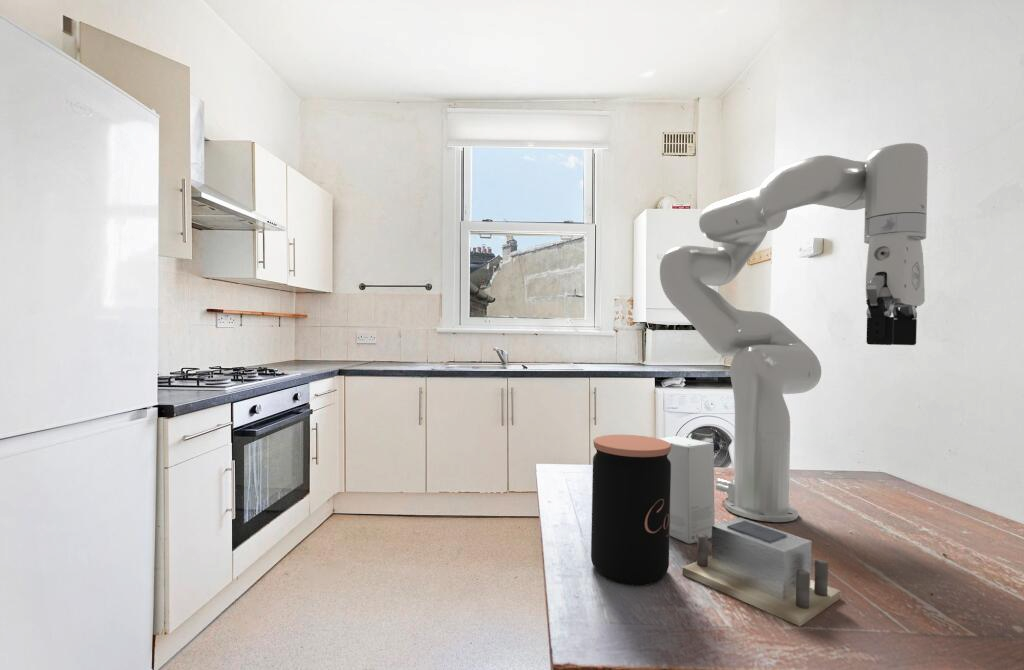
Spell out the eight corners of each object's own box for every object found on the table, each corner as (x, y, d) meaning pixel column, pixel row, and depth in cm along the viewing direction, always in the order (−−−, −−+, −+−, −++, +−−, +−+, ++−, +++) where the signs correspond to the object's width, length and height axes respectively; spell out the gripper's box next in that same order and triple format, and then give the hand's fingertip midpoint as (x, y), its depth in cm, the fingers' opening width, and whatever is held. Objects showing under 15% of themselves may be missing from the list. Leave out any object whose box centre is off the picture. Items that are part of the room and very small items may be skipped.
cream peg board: (682, 574, 72) (683, 538, 72) (726, 555, 79) (726, 522, 79) (800, 626, 60) (801, 582, 60) (840, 598, 66) (841, 559, 66)
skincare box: (715, 538, 85) (717, 443, 85) (686, 546, 82) (689, 447, 82) (676, 521, 93) (678, 434, 92) (648, 528, 89) (650, 437, 89)
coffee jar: (655, 596, 66) (658, 454, 66) (578, 574, 72) (580, 443, 71) (677, 565, 75) (680, 440, 75) (607, 548, 81) (609, 431, 81)
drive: (711, 569, 72) (712, 524, 72) (738, 558, 75) (739, 515, 75) (783, 601, 63) (784, 550, 63) (810, 587, 67) (811, 539, 67)
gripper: (904, 218, 70) (901, 345, 70) (943, 234, 80) (940, 345, 81) (842, 226, 76) (840, 343, 76) (886, 241, 86) (883, 344, 87)
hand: (891, 344), depth 78 cm, fingers open, 9 cm apart
